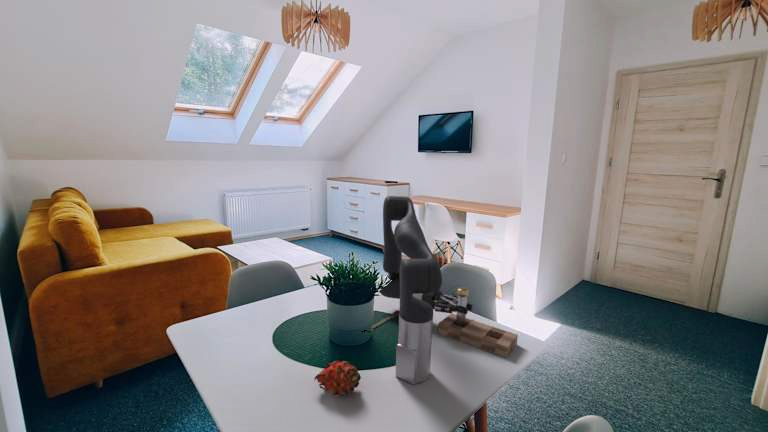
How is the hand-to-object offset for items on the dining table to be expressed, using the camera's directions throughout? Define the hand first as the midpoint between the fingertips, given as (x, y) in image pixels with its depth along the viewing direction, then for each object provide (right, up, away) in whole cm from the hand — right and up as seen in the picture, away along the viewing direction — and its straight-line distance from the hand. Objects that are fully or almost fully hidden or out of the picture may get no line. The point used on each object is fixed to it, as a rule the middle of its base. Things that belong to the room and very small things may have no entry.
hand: (469, 309), depth 119 cm
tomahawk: (-29, -8, +9) cm, 31 cm away
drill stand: (+2, -10, 0) cm, 10 cm away
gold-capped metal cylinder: (-3, -9, +3) cm, 10 cm away
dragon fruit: (-41, -14, -29) cm, 52 cm away
